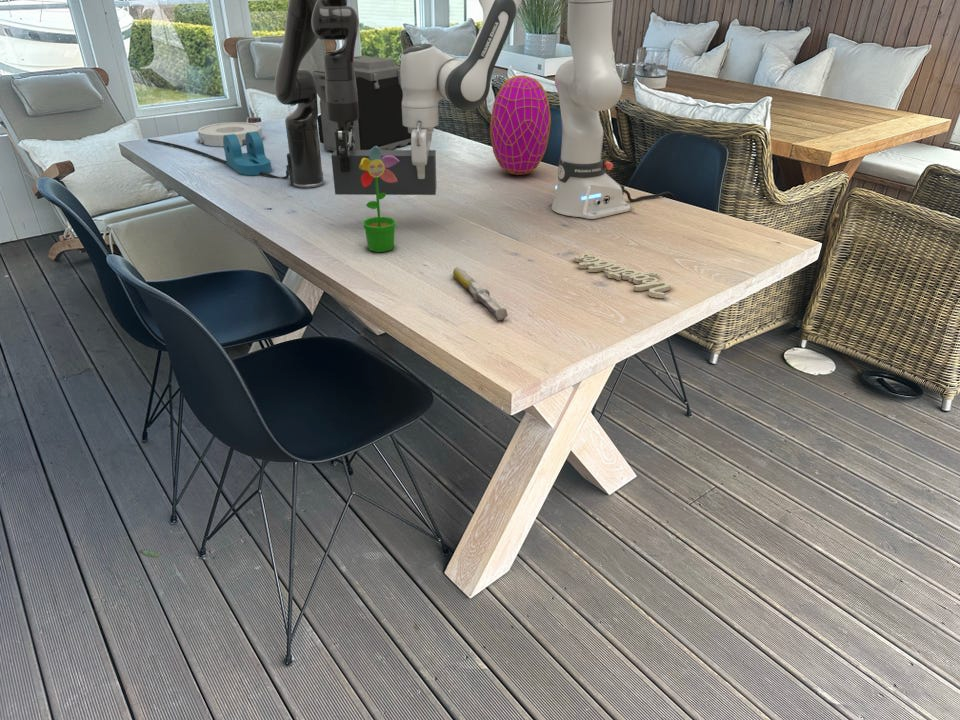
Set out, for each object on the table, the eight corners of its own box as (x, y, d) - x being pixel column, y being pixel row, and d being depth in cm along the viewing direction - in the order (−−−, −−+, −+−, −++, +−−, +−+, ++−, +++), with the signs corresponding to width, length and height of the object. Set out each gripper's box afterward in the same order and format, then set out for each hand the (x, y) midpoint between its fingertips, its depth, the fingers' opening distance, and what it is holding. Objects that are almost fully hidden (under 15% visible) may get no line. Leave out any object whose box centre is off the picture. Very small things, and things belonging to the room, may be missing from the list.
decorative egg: (522, 185, 216) (526, 83, 200) (477, 173, 227) (478, 76, 212) (559, 173, 228) (566, 76, 213) (514, 162, 239) (517, 70, 224)
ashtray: (212, 132, 275) (211, 121, 273) (270, 133, 274) (268, 122, 272) (190, 145, 255) (187, 134, 253) (251, 147, 254) (250, 135, 252)
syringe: (449, 274, 155) (449, 263, 153) (465, 272, 156) (464, 260, 154) (490, 323, 135) (491, 310, 133) (508, 319, 136) (508, 307, 134)
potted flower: (369, 256, 164) (361, 149, 151) (358, 245, 170) (349, 142, 157) (406, 249, 167) (401, 145, 155) (394, 239, 173) (388, 138, 161)
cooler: (383, 133, 276) (378, 52, 261) (425, 141, 265) (422, 56, 250) (314, 150, 251) (304, 61, 235) (358, 160, 240) (350, 67, 224)
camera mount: (227, 164, 233) (221, 132, 227) (257, 160, 238) (252, 129, 233) (244, 176, 220) (239, 143, 215) (276, 172, 225) (271, 139, 220)
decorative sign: (686, 282, 150) (660, 295, 144) (686, 286, 150) (659, 300, 144) (592, 249, 166) (565, 259, 160) (592, 253, 167) (565, 263, 161)
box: (335, 194, 173) (331, 155, 168) (338, 187, 178) (335, 149, 173) (435, 194, 174) (434, 155, 169) (436, 188, 179) (435, 150, 174)
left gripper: (353, 104, 158) (359, 175, 167) (361, 94, 171) (366, 160, 179) (320, 104, 158) (328, 175, 167) (331, 93, 171) (337, 160, 179)
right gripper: (431, 126, 158) (432, 186, 165) (435, 109, 176) (436, 163, 183) (403, 126, 158) (406, 186, 165) (410, 109, 176) (412, 163, 183)
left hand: (348, 167), depth 173 cm, fingers open, 7 cm apart
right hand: (422, 174), depth 174 cm, fingers closed on box, 6 cm apart
